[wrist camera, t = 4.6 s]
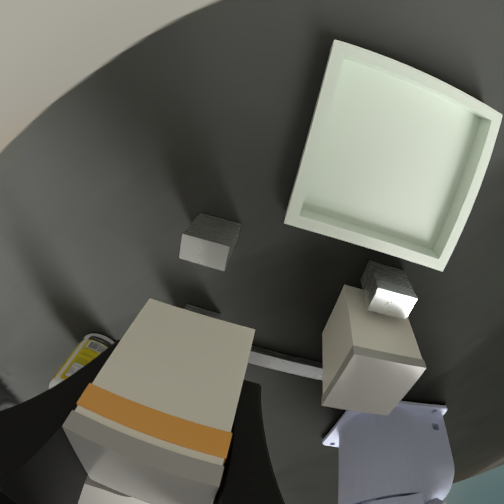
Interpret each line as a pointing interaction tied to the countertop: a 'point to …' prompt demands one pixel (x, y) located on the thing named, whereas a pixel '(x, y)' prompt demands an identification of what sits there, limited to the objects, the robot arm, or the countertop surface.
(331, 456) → the countertop surface
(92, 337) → the supplement bottle
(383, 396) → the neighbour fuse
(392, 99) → the tray
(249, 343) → the white box with band
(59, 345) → the countertop surface
